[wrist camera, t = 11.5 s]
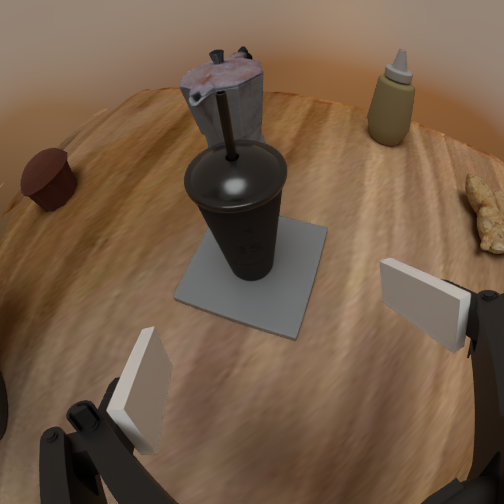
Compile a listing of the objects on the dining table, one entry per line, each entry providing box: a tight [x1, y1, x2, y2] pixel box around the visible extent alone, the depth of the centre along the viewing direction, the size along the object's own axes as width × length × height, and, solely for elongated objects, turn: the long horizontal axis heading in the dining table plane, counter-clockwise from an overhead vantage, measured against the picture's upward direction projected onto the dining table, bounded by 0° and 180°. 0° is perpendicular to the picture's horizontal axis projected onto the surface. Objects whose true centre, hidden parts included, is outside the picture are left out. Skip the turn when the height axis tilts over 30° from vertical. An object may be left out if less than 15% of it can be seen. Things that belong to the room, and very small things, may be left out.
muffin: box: [21, 148, 77, 211], centre depth 40 cm, size 12×11×10 cm
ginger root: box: [465, 173, 504, 254], centre depth 29 cm, size 16×16×8 cm
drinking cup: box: [184, 90, 287, 281], centre depth 23 cm, size 8×8×20 cm
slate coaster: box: [173, 216, 328, 341], centre depth 32 cm, size 14×14×1 cm
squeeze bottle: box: [367, 49, 415, 146], centre depth 36 cm, size 8×8×18 cm
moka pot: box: [180, 47, 265, 148], centre depth 32 cm, size 10×15×20 cm, turn 164°
